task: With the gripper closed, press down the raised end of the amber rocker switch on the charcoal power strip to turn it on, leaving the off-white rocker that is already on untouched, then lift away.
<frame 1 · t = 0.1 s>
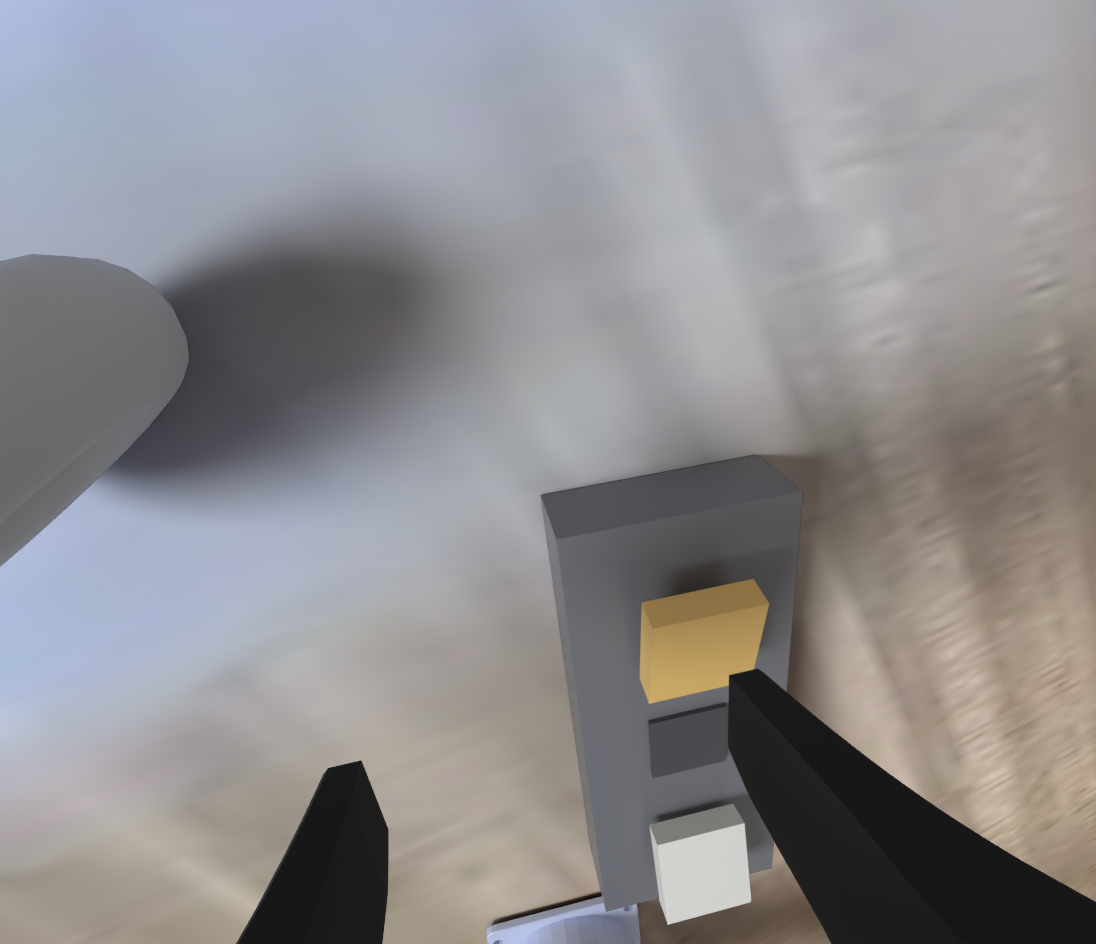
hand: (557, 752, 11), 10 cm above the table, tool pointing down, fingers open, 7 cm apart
power strip: (660, 681, 25), on the table
amber rocker: (699, 643, 19), point 4 cm above the table, hinge at -12.0°
grey round disc: (102, 384, 17), on the table
white rocker: (700, 863, 24), point 4 cm above the table, hinge at 12.0°
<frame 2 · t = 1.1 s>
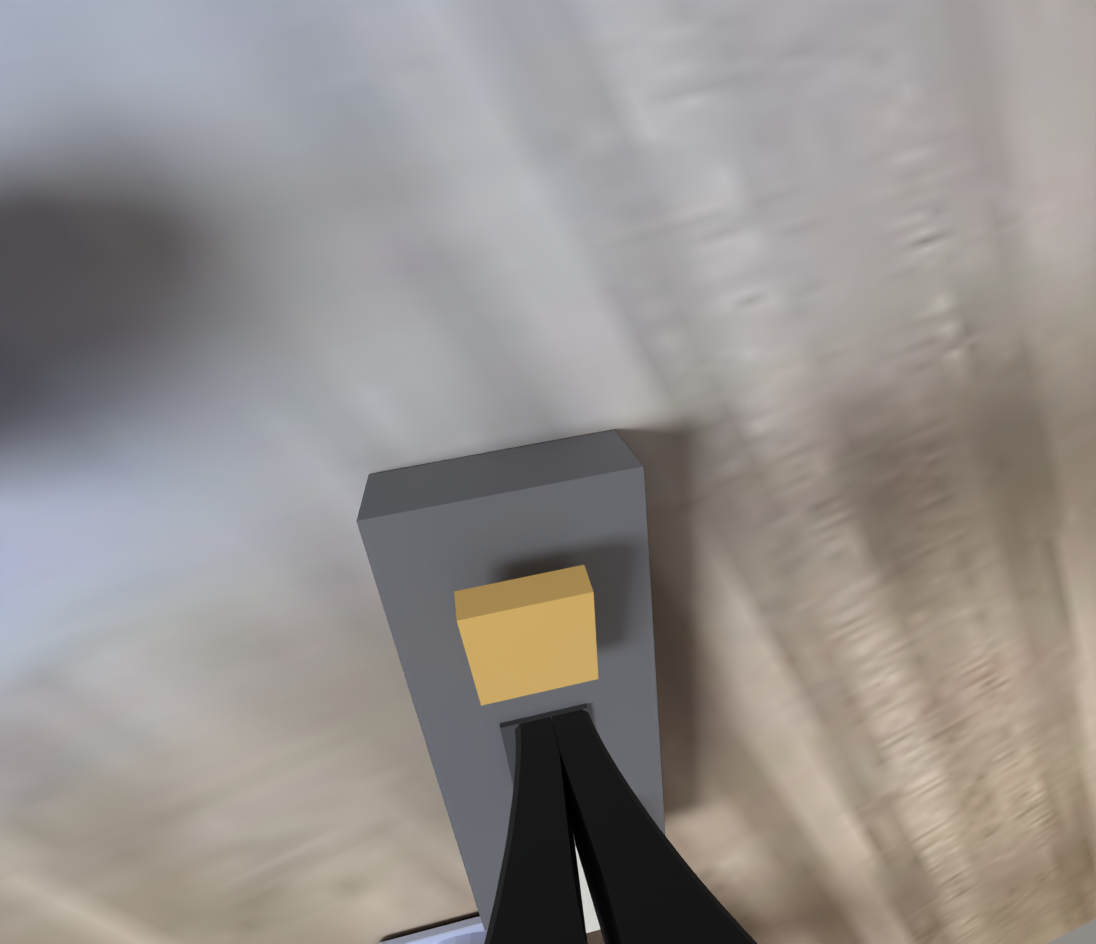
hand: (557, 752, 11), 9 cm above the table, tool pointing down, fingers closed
power strip: (535, 680, 23), on the table
amber rocker: (530, 637, 17), point 4 cm above the table, hinge at -12.0°
white rocker: (573, 879, 22), point 4 cm above the table, hinge at 12.0°
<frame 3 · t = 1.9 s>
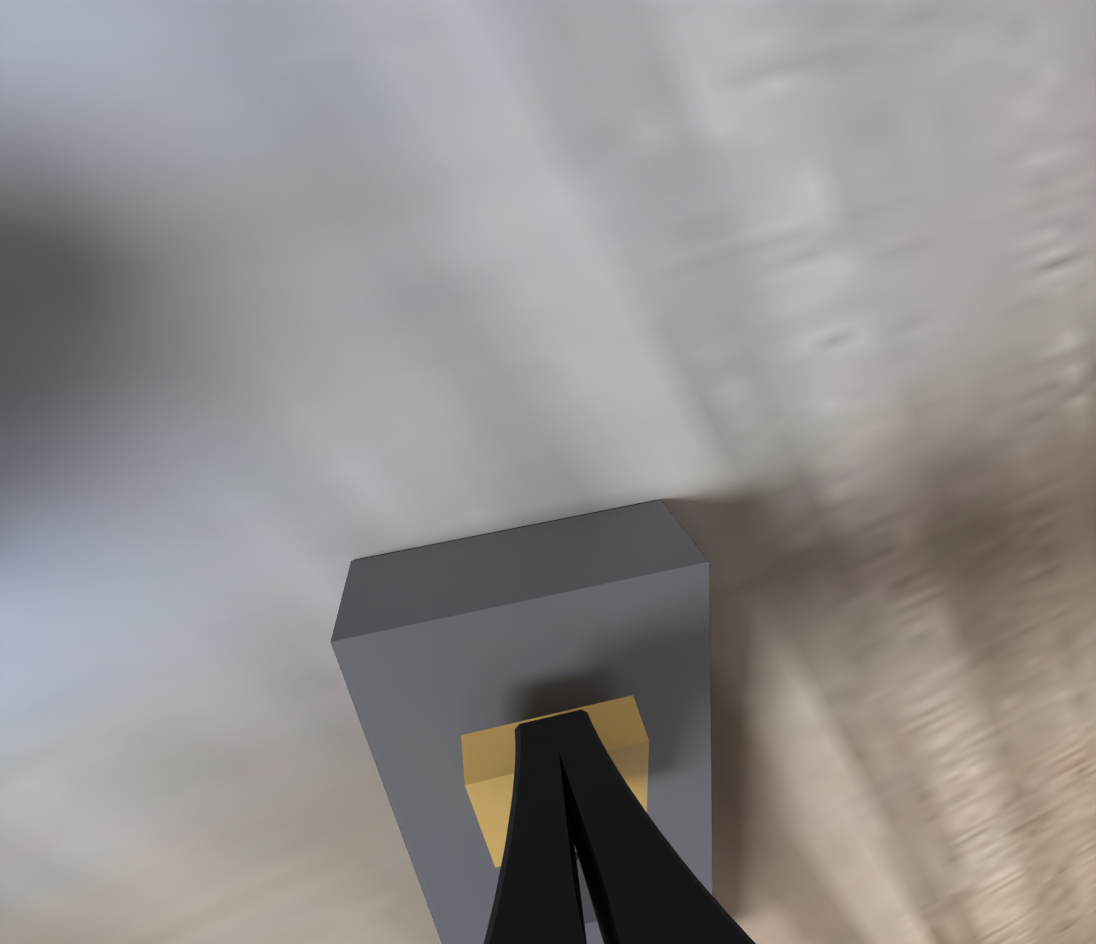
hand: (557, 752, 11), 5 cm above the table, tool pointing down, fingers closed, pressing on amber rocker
power strip: (557, 790, 19), on the table
amber rocker: (560, 785, 13), point 4 cm above the table, hinge at -11.9°, touching gripper
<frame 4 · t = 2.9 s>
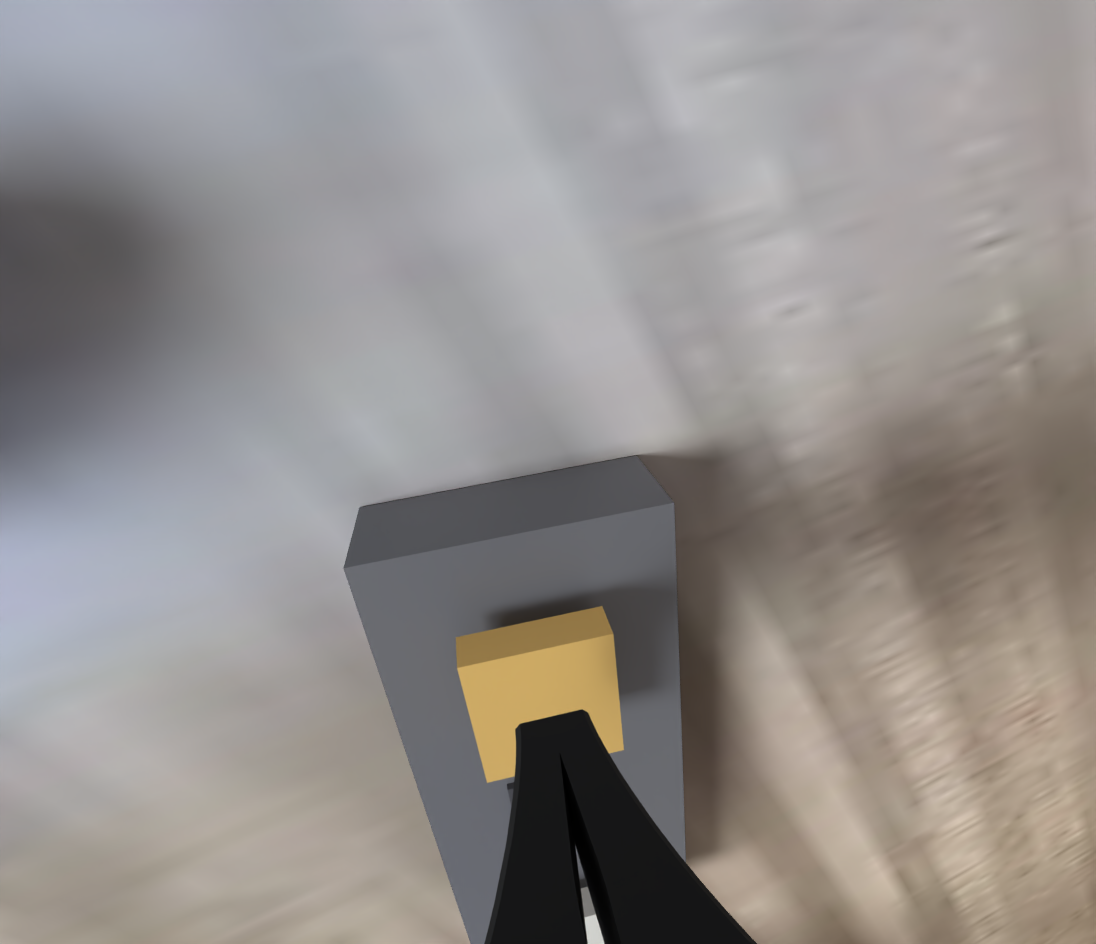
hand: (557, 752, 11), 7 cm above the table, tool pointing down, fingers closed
power strip: (545, 726, 21), on the table
amber rocker: (543, 696, 14), point 4 cm above the table, hinge at -1.2°
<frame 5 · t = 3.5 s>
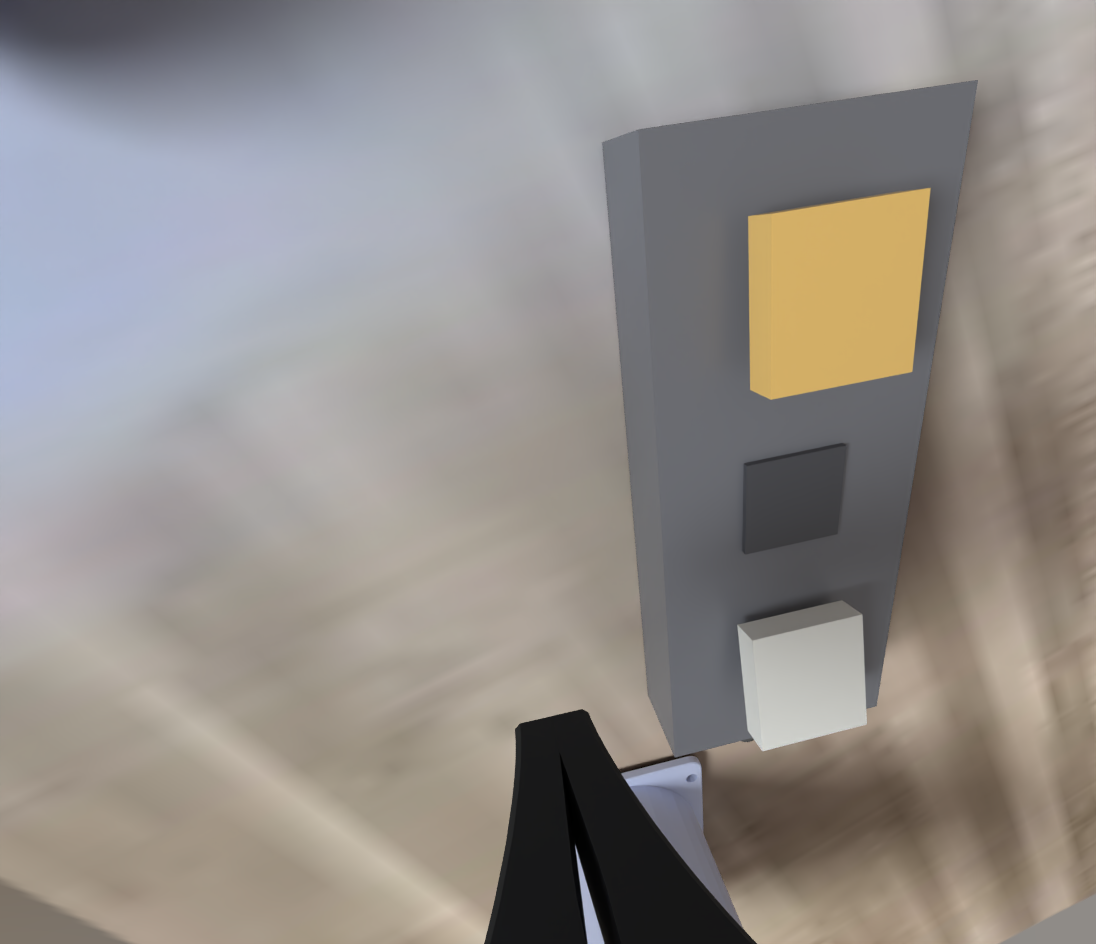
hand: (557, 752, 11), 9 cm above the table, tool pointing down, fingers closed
power strip: (742, 458, 20), on the table
amber rocker: (833, 296, 13), point 4 cm above the table, hinge at 3.5°
white rocker: (802, 675, 19), point 4 cm above the table, hinge at 12.0°
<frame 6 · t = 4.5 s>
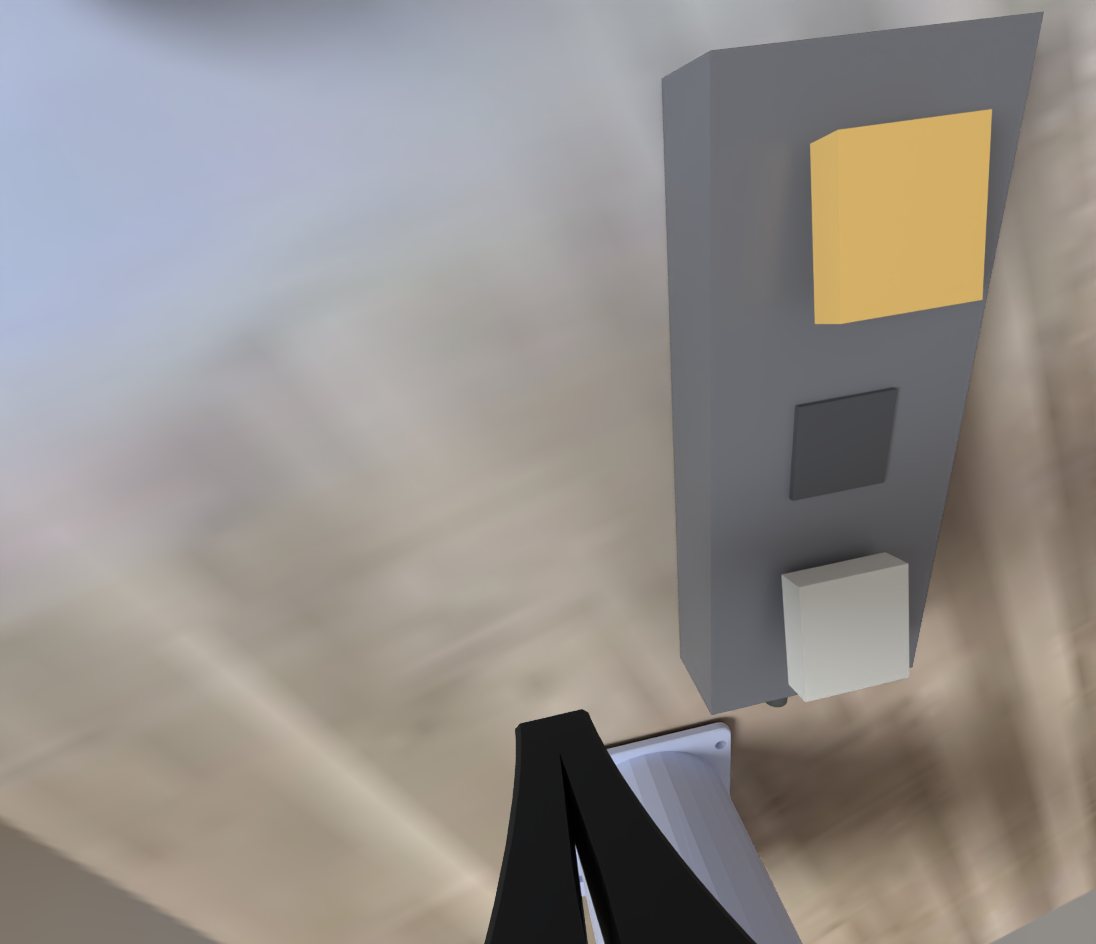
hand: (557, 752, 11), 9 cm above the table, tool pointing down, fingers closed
power strip: (784, 412, 20), on the table
amber rocker: (897, 223, 13), point 4 cm above the table, hinge at 10.1°
white rocker: (845, 626, 19), point 4 cm above the table, hinge at 12.0°
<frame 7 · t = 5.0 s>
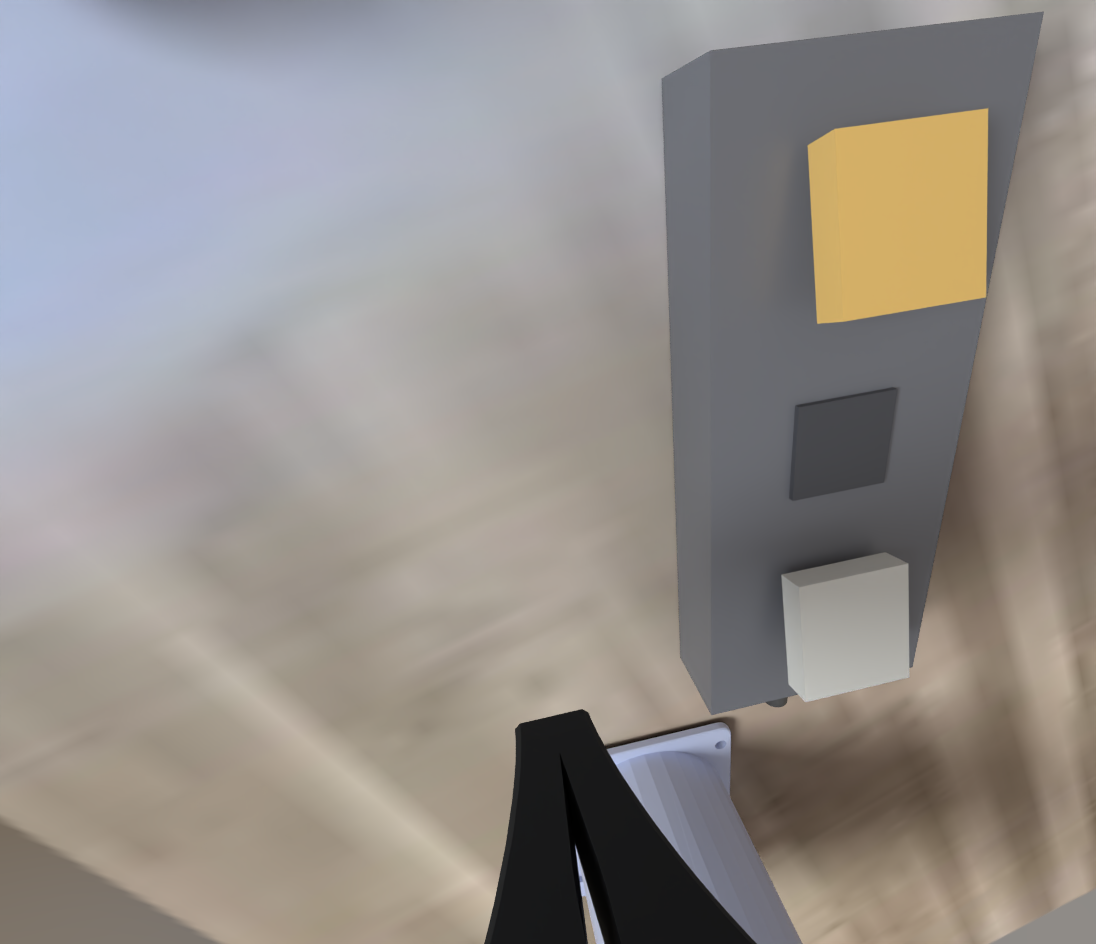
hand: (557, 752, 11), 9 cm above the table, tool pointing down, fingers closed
power strip: (784, 412, 20), on the table
amber rocker: (897, 222, 13), point 4 cm above the table, hinge at 12.8°
white rocker: (845, 626, 19), point 4 cm above the table, hinge at 12.0°
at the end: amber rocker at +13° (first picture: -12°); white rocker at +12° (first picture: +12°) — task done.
